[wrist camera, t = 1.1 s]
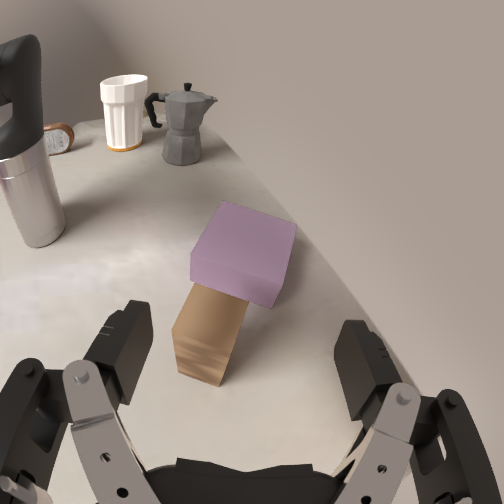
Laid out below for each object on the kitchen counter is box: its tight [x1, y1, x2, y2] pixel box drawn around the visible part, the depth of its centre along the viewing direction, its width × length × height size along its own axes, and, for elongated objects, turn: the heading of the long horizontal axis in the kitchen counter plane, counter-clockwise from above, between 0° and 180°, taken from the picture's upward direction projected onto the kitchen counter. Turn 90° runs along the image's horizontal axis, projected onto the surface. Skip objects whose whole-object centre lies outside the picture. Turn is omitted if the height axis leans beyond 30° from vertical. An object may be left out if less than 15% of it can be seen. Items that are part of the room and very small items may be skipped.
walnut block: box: [172, 283, 249, 387], centre depth 26 cm, size 5×5×12 cm
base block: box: [190, 201, 297, 308], centre depth 40 cm, size 12×12×6 cm
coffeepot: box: [145, 83, 218, 166], centre depth 53 cm, size 15×9×18 cm, turn 100°
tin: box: [43, 123, 74, 156], centre depth 50 cm, size 15×3×8 cm, turn 106°
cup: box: [100, 75, 148, 152], centre depth 54 cm, size 11×11×17 cm
